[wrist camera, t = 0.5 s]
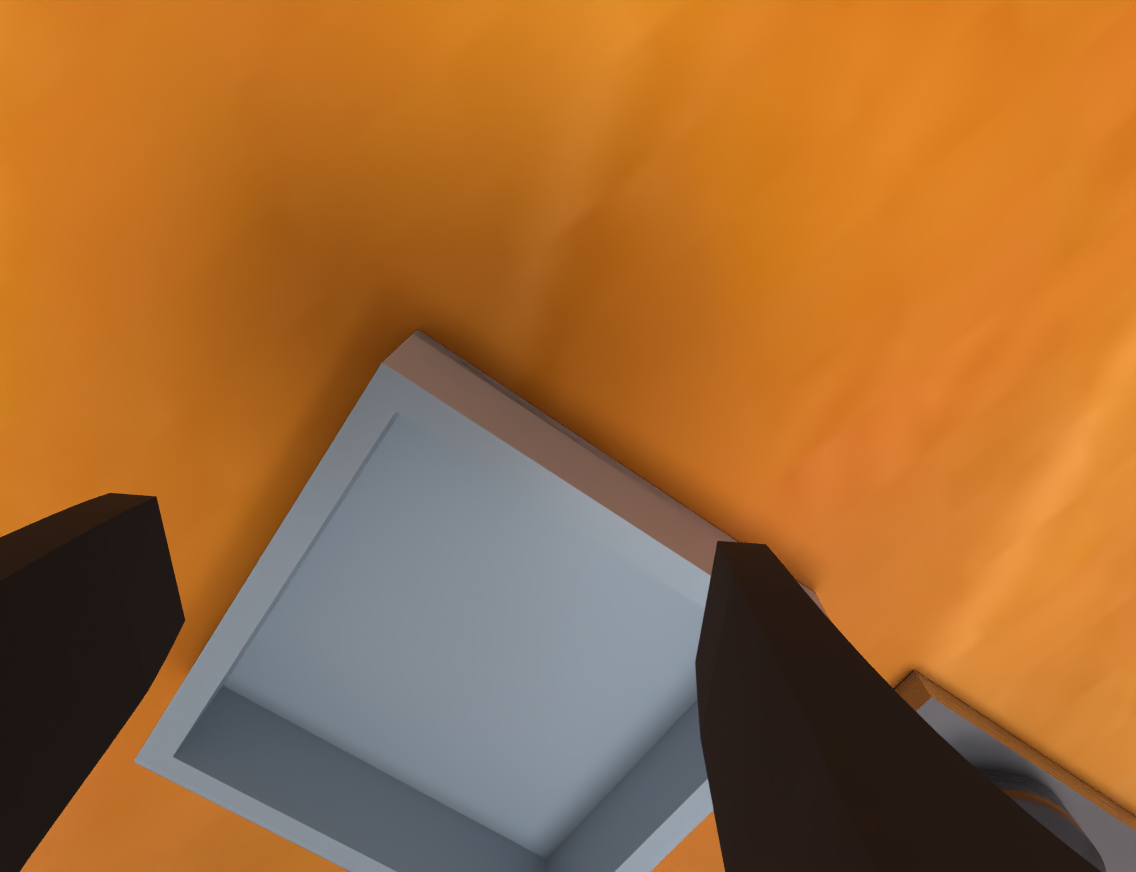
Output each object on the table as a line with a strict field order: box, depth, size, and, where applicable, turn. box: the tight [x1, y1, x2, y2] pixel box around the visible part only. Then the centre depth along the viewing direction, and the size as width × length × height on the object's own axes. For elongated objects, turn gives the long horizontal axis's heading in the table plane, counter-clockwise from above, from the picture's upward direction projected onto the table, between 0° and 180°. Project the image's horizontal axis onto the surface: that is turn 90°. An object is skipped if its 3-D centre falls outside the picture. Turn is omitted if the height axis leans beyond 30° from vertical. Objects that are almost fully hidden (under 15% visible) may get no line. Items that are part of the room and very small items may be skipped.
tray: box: [134, 329, 829, 872], centre depth 21 cm, size 14×14×4 cm
